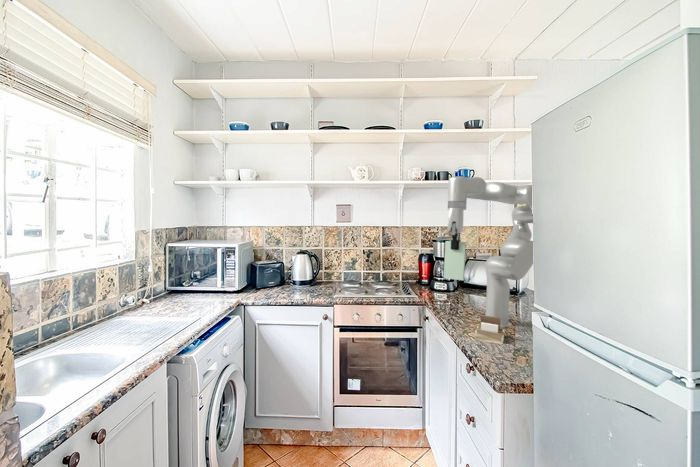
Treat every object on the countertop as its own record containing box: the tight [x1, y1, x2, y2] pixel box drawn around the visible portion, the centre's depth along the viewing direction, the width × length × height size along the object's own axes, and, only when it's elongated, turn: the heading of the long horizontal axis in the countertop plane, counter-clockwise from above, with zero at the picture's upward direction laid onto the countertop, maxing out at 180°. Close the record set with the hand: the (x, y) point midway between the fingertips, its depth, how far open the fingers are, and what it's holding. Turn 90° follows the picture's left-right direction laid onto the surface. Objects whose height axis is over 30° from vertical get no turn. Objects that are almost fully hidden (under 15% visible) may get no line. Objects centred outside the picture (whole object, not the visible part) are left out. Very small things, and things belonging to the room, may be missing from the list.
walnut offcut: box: [479, 314, 500, 331], centre depth 122 cm, size 2×7×8 cm, turn 61°
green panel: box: [443, 240, 467, 281], centre depth 131 cm, size 2×8×16 cm, turn 61°
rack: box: [474, 322, 505, 345], centre depth 122 cm, size 11×10×5 cm
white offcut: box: [480, 321, 498, 333], centre depth 119 cm, size 2×6×6 cm, turn 61°
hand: (455, 249), depth 131 cm, fingers closed on green panel, 2 cm apart
